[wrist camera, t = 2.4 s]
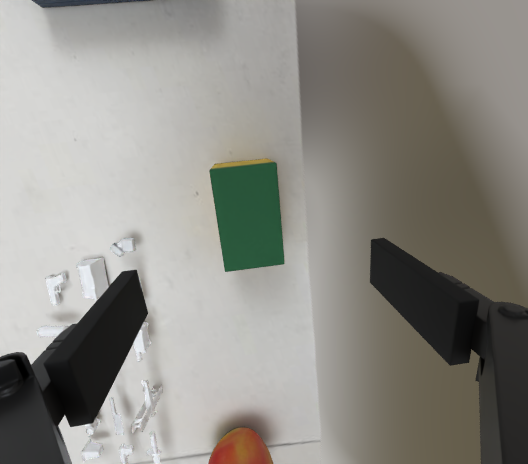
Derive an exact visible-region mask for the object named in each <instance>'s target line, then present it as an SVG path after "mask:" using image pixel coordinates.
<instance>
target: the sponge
mask: <svg viewBox="0 0 528 464" xmlns="http://www.w3.org/2000/svg"><path fill="white" fill-rule="evenodd" d="M210 177H211V184H212V190H213V197H214V203H215V209H216V216H217V222H218V229H219V235H220V242H221V248H222V255H223V261H224V268H225V272H228V271H236V270H243V269H251V268H259V267H266V266H274V265H281V264H284V251H283V239H282V226H281V214H280V201H279V189H278V176H277V164H276V163H275V162H273V161H271V160H269V159H258V160H249V161H239V162H230V163H220V164H214V166H213V167H212V168H211V169H210Z"/></svg>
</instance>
